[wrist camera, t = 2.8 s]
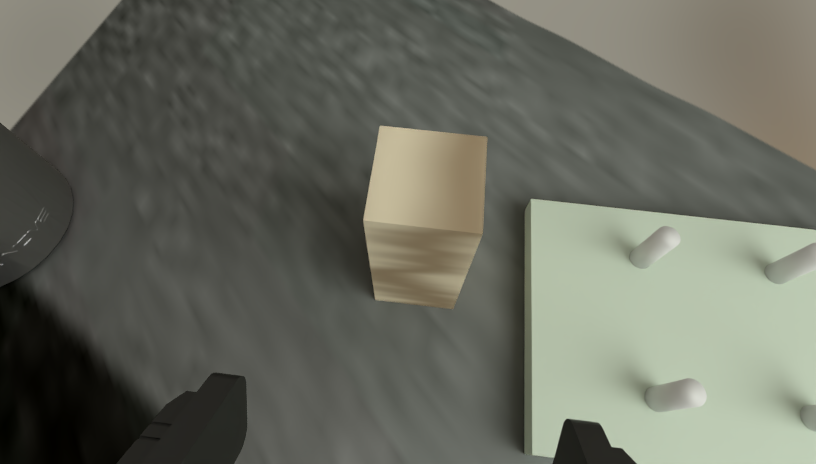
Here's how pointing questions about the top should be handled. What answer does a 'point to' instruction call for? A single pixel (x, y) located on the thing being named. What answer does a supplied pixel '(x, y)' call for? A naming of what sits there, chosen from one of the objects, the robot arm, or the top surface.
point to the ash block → (424, 214)
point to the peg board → (670, 334)
